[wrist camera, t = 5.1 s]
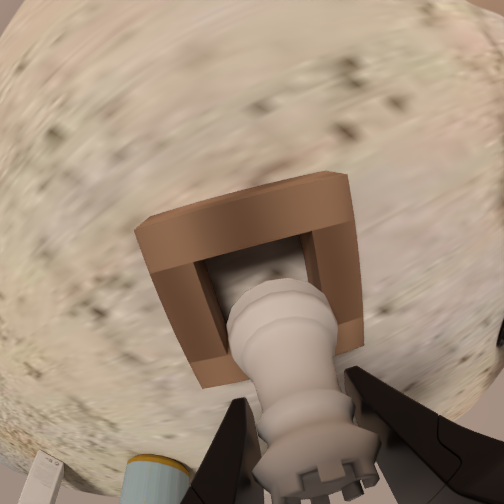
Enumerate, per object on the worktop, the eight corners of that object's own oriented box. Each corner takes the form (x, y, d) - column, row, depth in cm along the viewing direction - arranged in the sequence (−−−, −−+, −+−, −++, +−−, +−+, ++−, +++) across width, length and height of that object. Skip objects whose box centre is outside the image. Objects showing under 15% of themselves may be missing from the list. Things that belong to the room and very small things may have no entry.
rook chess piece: (346, 321, 12) (432, 465, 5) (269, 374, 13) (297, 527, 5) (289, 250, 11) (384, 420, 3) (204, 317, 12) (183, 501, 4)
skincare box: (38, 448, 22) (15, 509, 11) (64, 462, 23) (45, 525, 12) (41, 461, 24) (22, 515, 12) (64, 473, 25) (48, 530, 13)
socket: (325, 170, 15) (347, 174, 12) (346, 320, 18) (364, 345, 15) (150, 216, 15) (133, 230, 12) (204, 358, 18) (202, 388, 15)
